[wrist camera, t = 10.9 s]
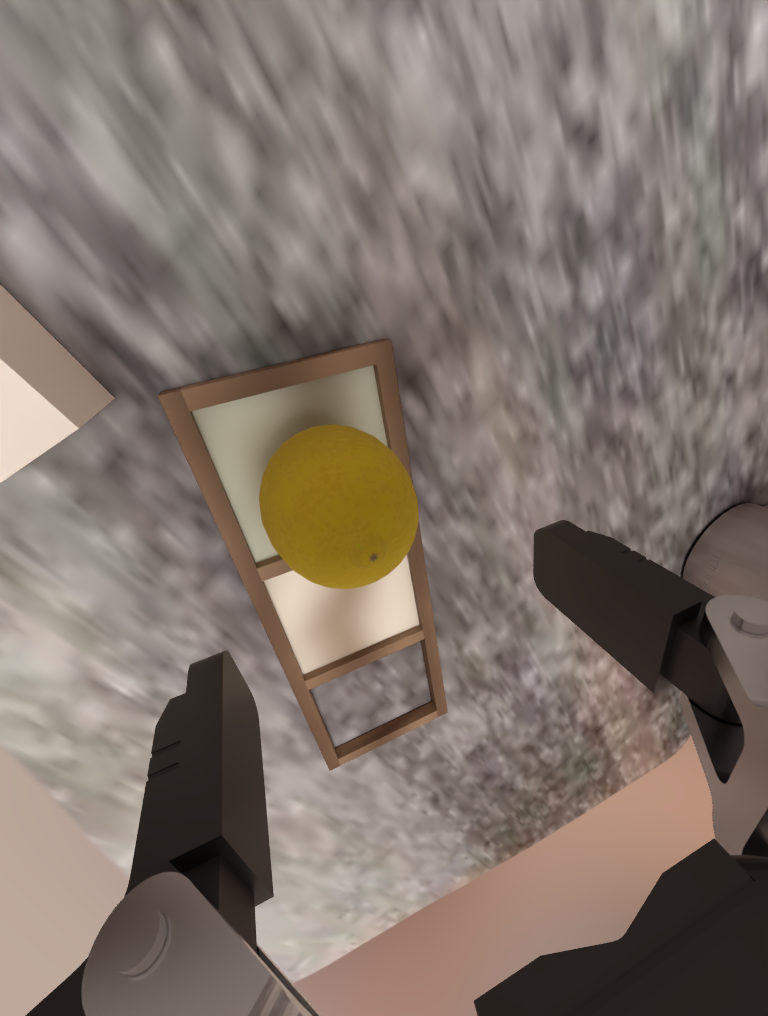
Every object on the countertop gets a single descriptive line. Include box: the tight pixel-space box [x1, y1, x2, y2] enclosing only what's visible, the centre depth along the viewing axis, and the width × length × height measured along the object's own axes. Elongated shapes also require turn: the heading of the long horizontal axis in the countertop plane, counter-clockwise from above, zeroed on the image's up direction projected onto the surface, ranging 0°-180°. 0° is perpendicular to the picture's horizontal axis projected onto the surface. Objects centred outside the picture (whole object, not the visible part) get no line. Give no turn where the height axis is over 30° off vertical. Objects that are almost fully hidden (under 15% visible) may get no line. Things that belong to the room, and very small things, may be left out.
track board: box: [158, 339, 447, 771], centre depth 22 cm, size 9×26×1 cm, turn 10°
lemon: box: [259, 424, 419, 589], centre depth 15 cm, size 6×6×8 cm
